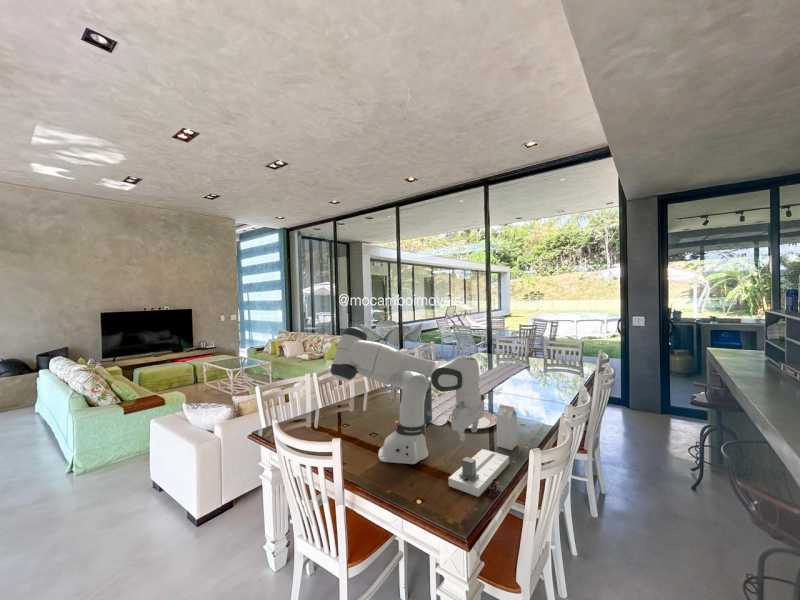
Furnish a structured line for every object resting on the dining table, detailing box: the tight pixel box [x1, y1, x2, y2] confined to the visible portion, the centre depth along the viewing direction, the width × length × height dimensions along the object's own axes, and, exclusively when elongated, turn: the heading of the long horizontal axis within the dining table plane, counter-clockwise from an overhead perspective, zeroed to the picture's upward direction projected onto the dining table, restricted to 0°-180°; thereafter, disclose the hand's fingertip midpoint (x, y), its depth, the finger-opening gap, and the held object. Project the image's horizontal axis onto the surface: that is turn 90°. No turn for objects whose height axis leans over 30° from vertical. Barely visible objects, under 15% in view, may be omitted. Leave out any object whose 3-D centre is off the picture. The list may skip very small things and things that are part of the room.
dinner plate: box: [447, 410, 497, 430], centre depth 190 cm, size 28×27×3 cm
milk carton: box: [496, 404, 518, 451], centre depth 160 cm, size 7×7×19 cm
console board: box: [448, 448, 510, 498], centre depth 135 cm, size 30×12×3 cm, turn 142°
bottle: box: [424, 375, 433, 424], centre depth 195 cm, size 10×10×30 cm
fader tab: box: [459, 456, 479, 481], centre depth 127 cm, size 4×6×6 cm
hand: (468, 435), depth 127 cm, fingers open, 8 cm apart
